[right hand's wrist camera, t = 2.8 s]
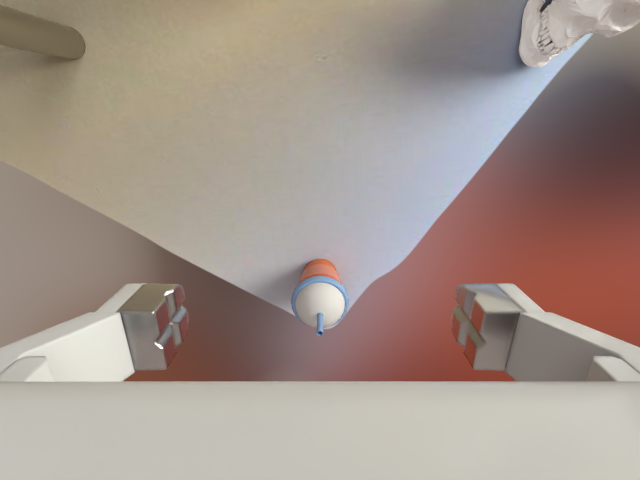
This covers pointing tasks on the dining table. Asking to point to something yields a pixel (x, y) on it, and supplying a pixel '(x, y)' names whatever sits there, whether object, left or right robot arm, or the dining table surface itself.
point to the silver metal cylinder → (39, 35)
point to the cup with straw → (319, 296)
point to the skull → (571, 25)
